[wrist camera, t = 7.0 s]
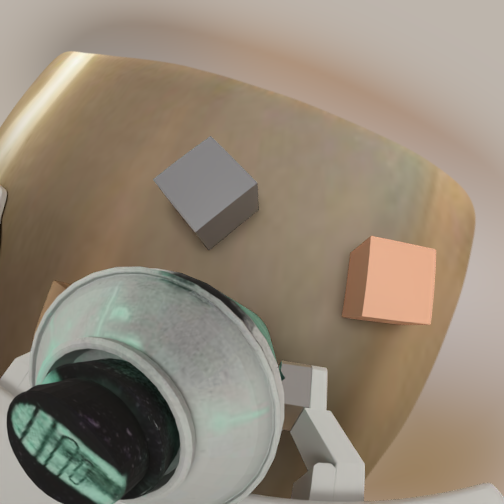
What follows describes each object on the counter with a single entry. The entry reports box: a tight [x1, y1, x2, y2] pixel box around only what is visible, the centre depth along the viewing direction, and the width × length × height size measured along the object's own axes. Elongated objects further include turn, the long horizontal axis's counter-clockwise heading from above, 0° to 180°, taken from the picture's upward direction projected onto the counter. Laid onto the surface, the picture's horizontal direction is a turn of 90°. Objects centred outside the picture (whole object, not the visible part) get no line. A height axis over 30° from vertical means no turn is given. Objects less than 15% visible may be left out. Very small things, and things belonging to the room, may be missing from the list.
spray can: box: [7, 267, 284, 504], centre depth 12 cm, size 6×6×20 cm
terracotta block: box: [342, 236, 436, 325], centre depth 20 cm, size 5×5×5 cm
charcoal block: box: [153, 136, 259, 250], centre depth 22 cm, size 5×5×5 cm
